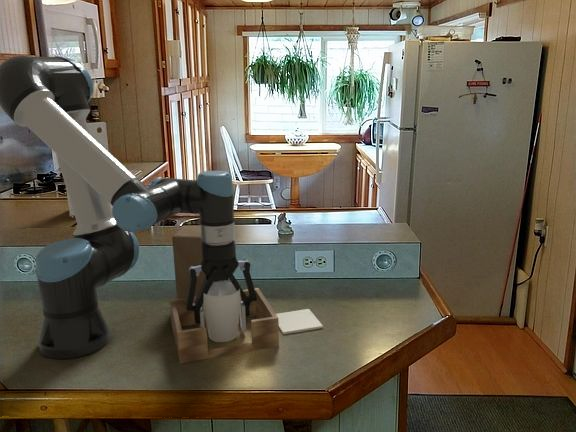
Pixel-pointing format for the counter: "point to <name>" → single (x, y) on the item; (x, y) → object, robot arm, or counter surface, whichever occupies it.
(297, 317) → the mat
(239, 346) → the crate
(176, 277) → the wooden block
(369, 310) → the counter surface
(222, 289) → the cup
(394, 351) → the counter surface
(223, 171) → the robot arm
